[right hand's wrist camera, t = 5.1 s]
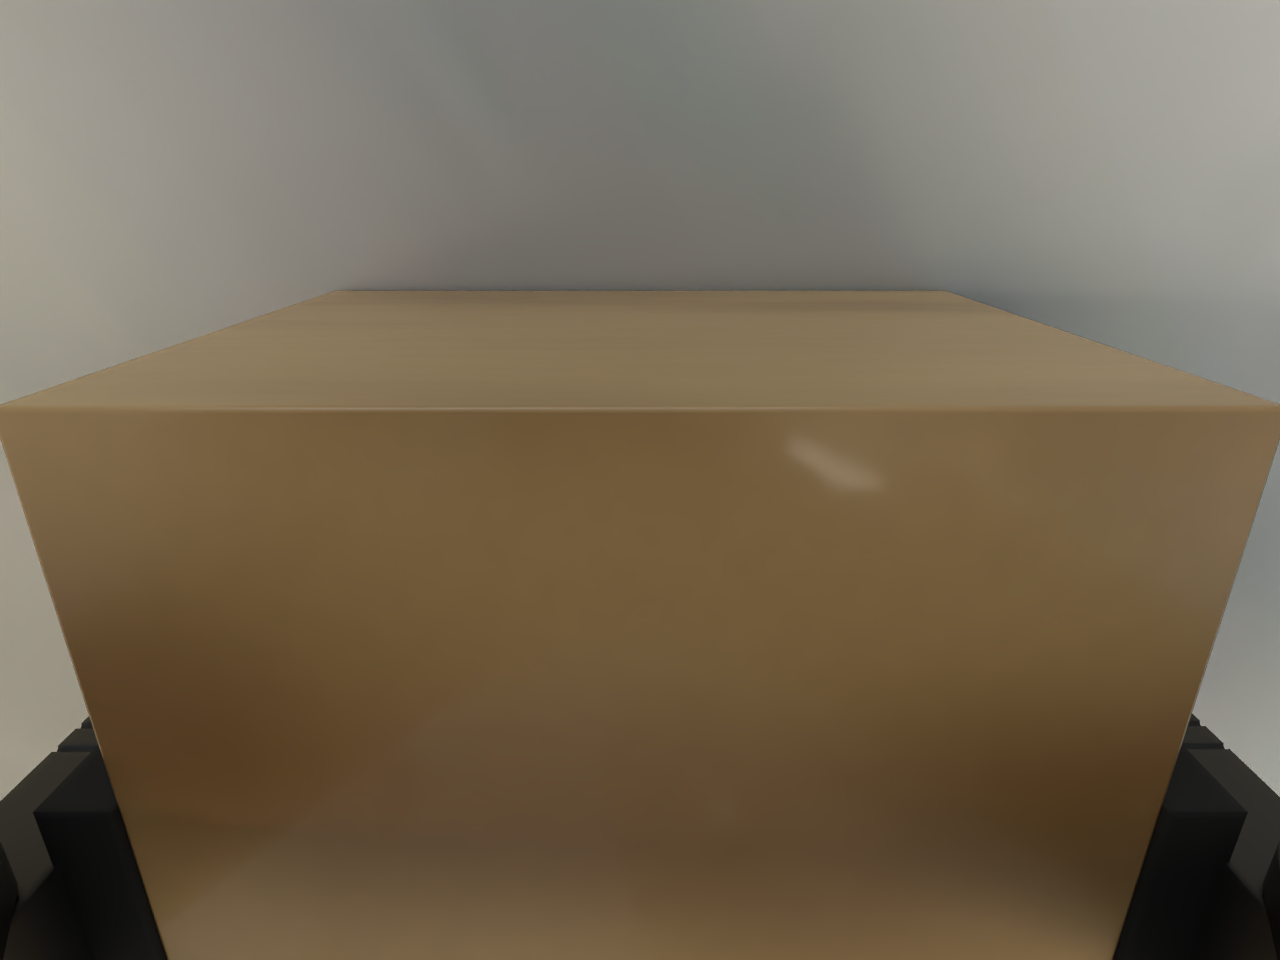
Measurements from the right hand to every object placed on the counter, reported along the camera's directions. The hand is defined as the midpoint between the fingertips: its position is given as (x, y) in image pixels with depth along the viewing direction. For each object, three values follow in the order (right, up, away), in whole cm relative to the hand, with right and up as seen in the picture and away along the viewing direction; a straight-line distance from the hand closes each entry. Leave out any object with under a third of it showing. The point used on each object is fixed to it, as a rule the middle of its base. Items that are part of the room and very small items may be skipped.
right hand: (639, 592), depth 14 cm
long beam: (0, -34, +14) cm, 36 cm away
